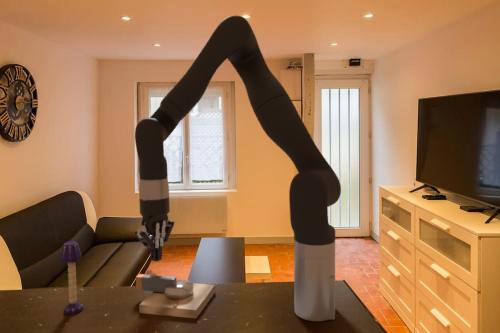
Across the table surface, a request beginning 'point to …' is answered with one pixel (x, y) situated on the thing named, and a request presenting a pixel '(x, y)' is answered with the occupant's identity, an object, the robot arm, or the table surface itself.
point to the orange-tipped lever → (165, 285)
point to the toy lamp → (71, 275)
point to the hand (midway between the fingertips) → (156, 260)
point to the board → (178, 302)
